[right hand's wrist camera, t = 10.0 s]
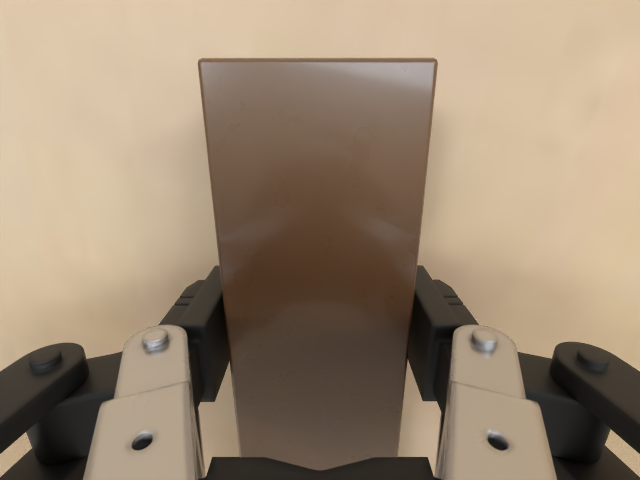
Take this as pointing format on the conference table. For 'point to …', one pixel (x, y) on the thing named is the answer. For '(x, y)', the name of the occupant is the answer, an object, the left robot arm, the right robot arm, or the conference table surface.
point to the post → (318, 245)
